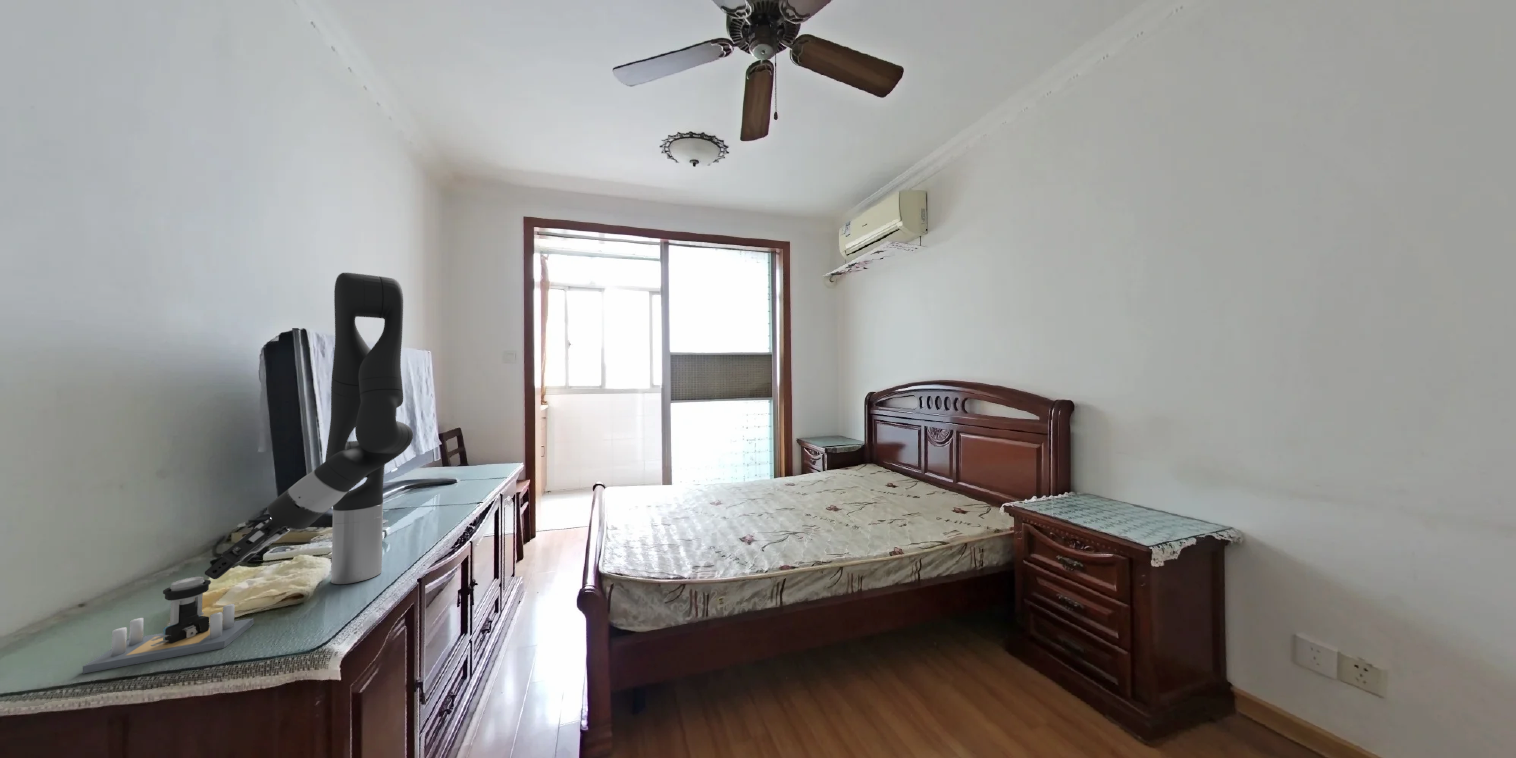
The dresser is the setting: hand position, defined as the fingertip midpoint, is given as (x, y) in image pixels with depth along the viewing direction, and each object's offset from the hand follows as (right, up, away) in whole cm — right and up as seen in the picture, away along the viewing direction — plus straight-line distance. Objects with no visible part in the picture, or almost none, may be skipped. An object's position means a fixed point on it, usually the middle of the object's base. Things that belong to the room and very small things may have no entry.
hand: (225, 567), depth 82 cm
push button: (-5, -12, -3) cm, 13 cm away
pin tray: (-5, -13, -3) cm, 14 cm away
